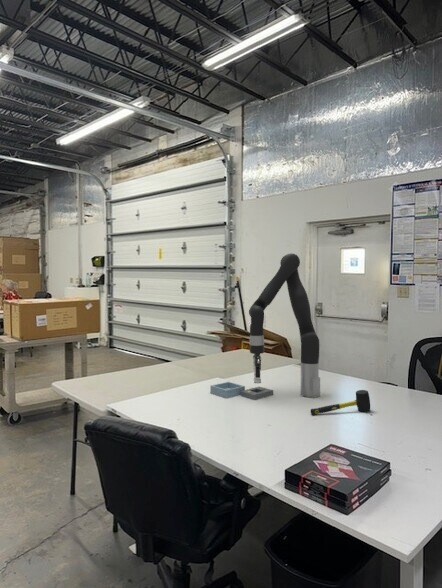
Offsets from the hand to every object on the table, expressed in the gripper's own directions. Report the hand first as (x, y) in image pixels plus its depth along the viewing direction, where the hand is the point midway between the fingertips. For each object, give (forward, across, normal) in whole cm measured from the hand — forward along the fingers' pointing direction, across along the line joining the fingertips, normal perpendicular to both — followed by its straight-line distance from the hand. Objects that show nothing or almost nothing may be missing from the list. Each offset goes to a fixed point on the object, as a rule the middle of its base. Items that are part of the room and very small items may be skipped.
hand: (257, 376), depth 215 cm
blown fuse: (+3, 0, 0) cm, 3 cm away
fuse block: (+10, 0, 0) cm, 10 cm away
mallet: (+11, -29, -35) cm, 47 cm away
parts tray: (+10, +4, +16) cm, 19 cm away
